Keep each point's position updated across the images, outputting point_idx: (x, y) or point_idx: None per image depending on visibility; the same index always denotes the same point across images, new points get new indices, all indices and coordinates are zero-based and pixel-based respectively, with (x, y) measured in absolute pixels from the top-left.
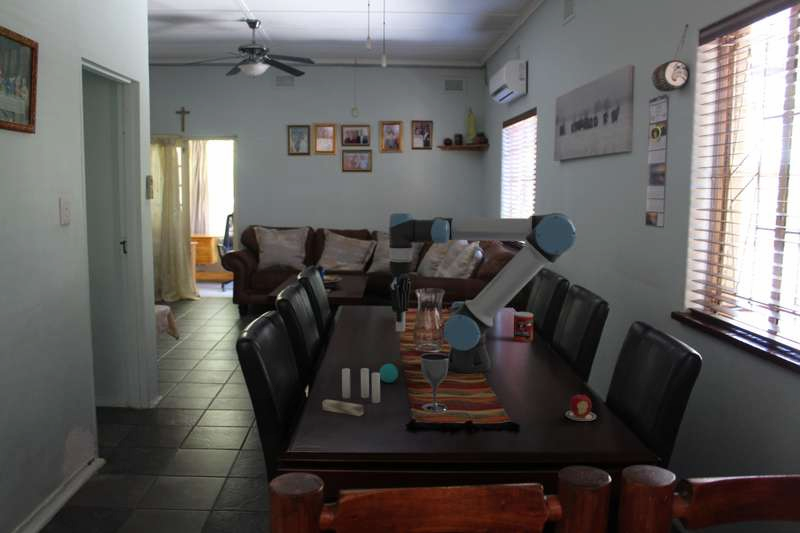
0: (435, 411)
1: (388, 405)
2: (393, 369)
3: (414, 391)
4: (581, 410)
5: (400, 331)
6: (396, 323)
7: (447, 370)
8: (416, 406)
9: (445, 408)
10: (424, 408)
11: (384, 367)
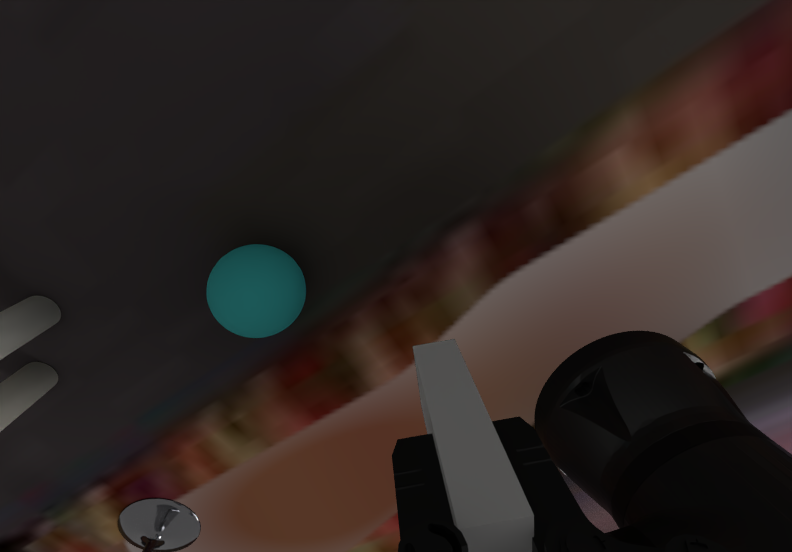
0: (133, 543)
1: (53, 426)
2: (245, 336)
3: (244, 410)
4: None
5: (418, 384)
6: (425, 399)
7: None
8: (125, 488)
9: (174, 550)
10: (124, 516)
11: (214, 303)
